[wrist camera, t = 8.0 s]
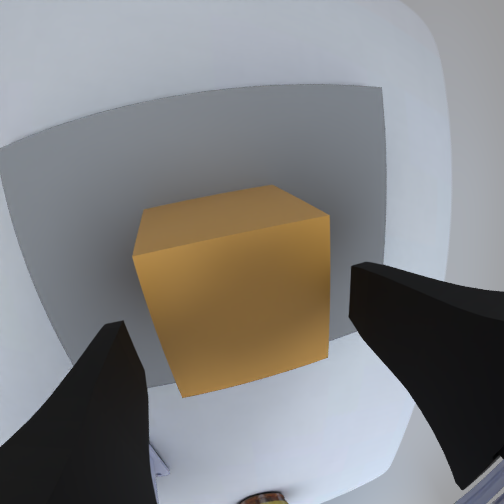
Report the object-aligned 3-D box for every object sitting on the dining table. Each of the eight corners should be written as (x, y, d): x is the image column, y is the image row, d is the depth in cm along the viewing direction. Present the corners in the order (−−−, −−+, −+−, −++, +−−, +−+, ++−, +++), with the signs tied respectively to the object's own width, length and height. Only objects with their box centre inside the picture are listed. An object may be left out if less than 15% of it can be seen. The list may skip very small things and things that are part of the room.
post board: (94, 378, 16) (86, 443, 12) (10, 147, 10) (-49, 160, 6) (364, 312, 20) (408, 355, 15) (364, 89, 14) (432, 84, 9)
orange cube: (172, 320, 14) (182, 397, 10) (143, 209, 12) (132, 256, 7) (282, 294, 15) (327, 357, 11) (272, 184, 13) (329, 215, 9)
